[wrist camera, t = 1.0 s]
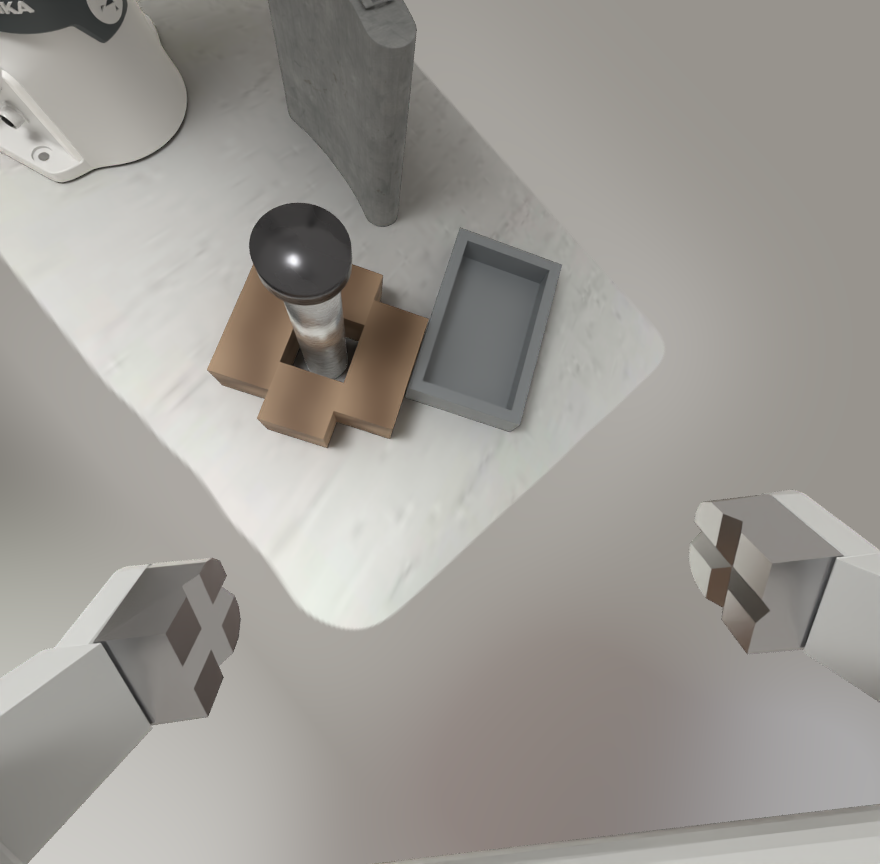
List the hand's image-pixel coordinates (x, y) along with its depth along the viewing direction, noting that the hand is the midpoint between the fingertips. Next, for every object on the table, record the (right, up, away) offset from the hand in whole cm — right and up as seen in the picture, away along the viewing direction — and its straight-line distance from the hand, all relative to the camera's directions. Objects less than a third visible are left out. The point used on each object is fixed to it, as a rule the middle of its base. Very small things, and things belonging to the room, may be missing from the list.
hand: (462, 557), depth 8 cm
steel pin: (-10, +9, +34) cm, 36 cm away
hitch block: (-10, +9, +34) cm, 36 cm away
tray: (+3, +11, +36) cm, 38 cm away
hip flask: (-9, +29, +38) cm, 49 cm away
